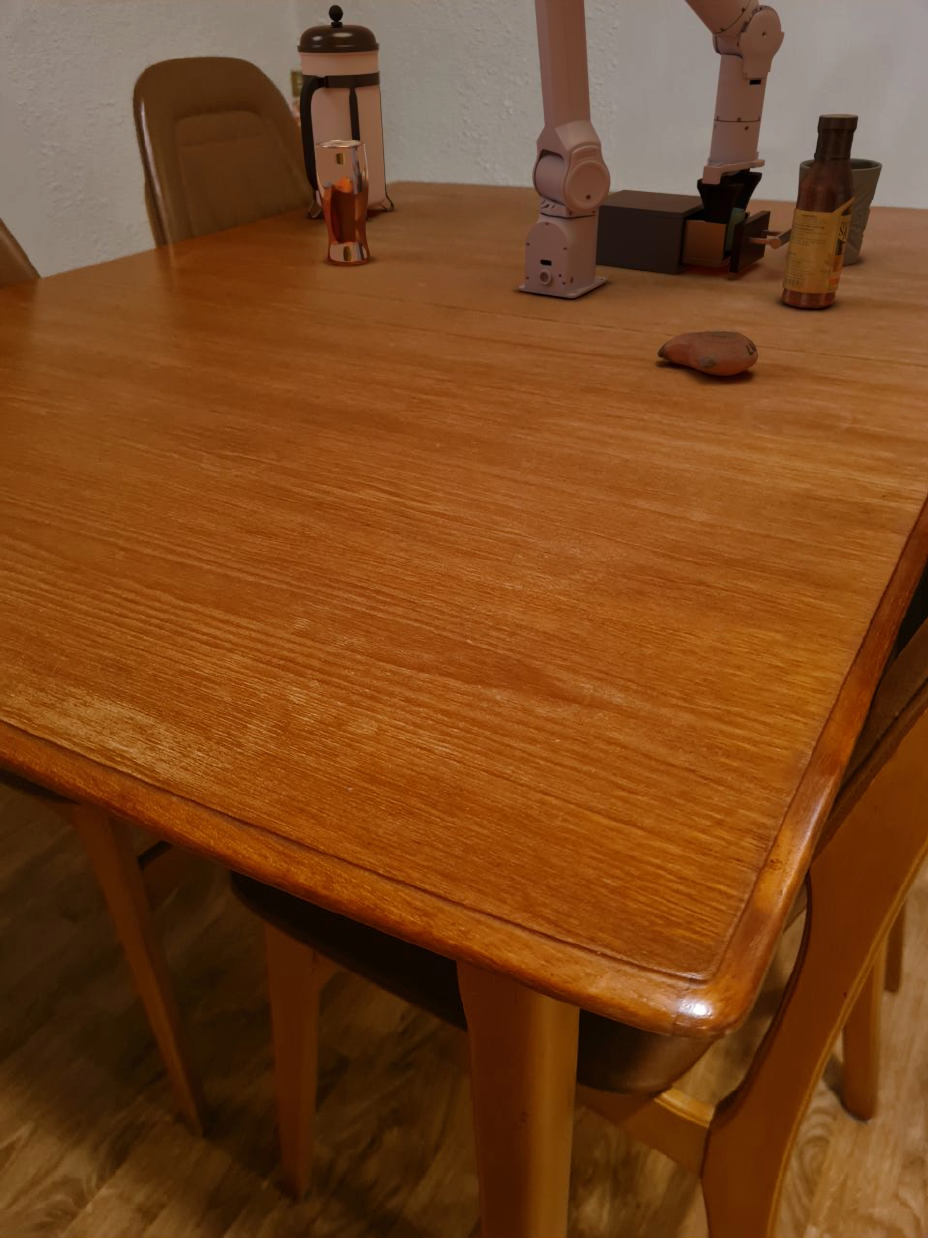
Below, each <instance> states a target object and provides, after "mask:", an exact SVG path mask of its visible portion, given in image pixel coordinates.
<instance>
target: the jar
mask: <svg viewBox="0 0 928 1238" xmlns="http://www.w3.org/2000/svg"><path fill="white" fill-rule="evenodd" d="M745 212H746V211H745V210H744V209H740V208H735V207H733V210H732V214H731V218H730V222H729V226H728V230H727V238H726V246H725V251H728V250H731V249H732V242H733V234H734V227H735V224H737V223H739V222H741V221H743V220H744V219H745Z"/></svg>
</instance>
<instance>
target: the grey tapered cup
mask: <svg viewBox="0 0 928 1238" xmlns="http://www.w3.org/2000/svg"><path fill="white" fill-rule="evenodd" d="M813 162H814V158H813V159H807V160H804V161H801V162H800V164H799V170H798V187H797V189H798V188H799V184H800V182H801V180H802V178H803V176H804V175H805V173H806V172H807V171H808V169H809V168H810V167H811V165H812V164H813ZM850 162H851V169H852V177H853V184H854V191H855V198H854V204H853V209H852V214H851V221H850V226H849V232H848V237H847V242H846V248H845V252H844V258H843V263H842V266H849V265H853V264H854V263H855V264H856V262H858V260H859V258H860V254H861V250H862V246H863V238H864V235H865V234H864V232H865V231H866V228H867V225H868V220H869V218H870V214H871V208H870V206H871V205H872V202H873V200H874V198H875V194H876V191H877V187H878V183H879V180H880V175H881V172H882V169H883V164H882V163H881V162H879V161H876V160H873V159H866V158H858V157H850Z"/></svg>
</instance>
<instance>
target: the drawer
mask: <svg viewBox="0 0 928 1238" xmlns="http://www.w3.org/2000/svg"><path fill="white" fill-rule="evenodd" d="M771 212H772V211H771V210H765V209H763V210H760V211H758V212H756V213H755V214H753V215H751V212H750V211H745V219H744V220H743V221H741V222H739V223H737V224H735V227H734V234H733V242H732V249H731V250H728V251H725V246H726V238H727V230H728V223H721V222H711V221H705V213H704V209H702V210H700V211H698V212H696V213H694V214H691V215H689V216H687V217H685V218H683V229H682V238H681V248H680V257H679V263H687V264H693V265H696V266H704V267H710V268H720V269H721V268H722V267H724V266H726V265H729V266H728V273H729V274H739V273H741V272H742V271H743V270H745V269H747V268H749V267H750V266H752V265H753V264H755V263H757V262H759V261H760V260H761V259H763V258H764V257H765V254H766V245H767V246H770V248H771V249H773V250H778V249H780V248H782V246H785V245H786V244H787V243H789V241H790V234H791V228H788V229H785V230H784V231H783V230H772V229H769V226H770V219H771ZM768 237H772V238H768Z"/></svg>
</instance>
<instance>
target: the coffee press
mask: <svg viewBox="0 0 928 1238" xmlns="http://www.w3.org/2000/svg"><path fill="white" fill-rule="evenodd" d="M344 13H345V12H343V9H342V7H341V6H340V5H338V4H333V5H331V6H330V7H329V9H328V13H327V14H328V17H329V18H330V20H331V22H330V24H325V25H315V26H312V27H308V28H307V29H306V30H304V31H303V33H301V35H300V38H299V44H298V45H296V49H297V52H298V55H300V57H299V58H300V65H301V72H300V79H301V80H300V81H301V89H300V94H299V122H300V123H299V124H300V133H301V143H302V151H303V161H304V168H305V173H306V178H307V180H308V183H309V185H310V187H311V190H312V201H311V203H310V205H309V207H308V209H307V215H308V216H309V217H310V218H311V219H316V218H317V219H318V217H319V216H320V214H321V213H323V209H322V205H321V201H320V196H319V191H318V185H317V176H316V147H315V144H316V143H318V142H322V141H330V140H359V141H363V142H364V143H365V152H366V159H367V167H368V180H369V192H368V206H367V210H371V209H375V208H378V207H380V206H381V208H383V209H384V210H385V211H387V212H392V211H393V210H394V208H395V204H394V203H393V201H392V200H391V199H390V197H389V195H388V193H387V181H386V179H387V178H386V164H385V163H386V162H385V148H384V147H385V146H384V145H385V144H384V128H383V112H382V111H383V109H382V96H381V87H380V84H382V83H381V82H382V81H381V71H380V70H379V56H378V55H379V52H380V43H379V42H377V38H376V36H375V33H374V32H373V31H372V30H371V29H370V28H368V27H366V26H364V25H359V24H344V23H343V22H342V21H341V20H342V19H343V16H344ZM386 199H387V200H388V202H389V203H390V207H389V208H386V207H385V206H384V202H385V200H386ZM315 204H316V205H317V206H318V207H320V208H319V209H318V210H317V211H316V213H315V214H314V215H311V212H312V210H313V208H314V206H315ZM368 215H369V214H367V217H366V222H367V221H369V217H368Z"/></svg>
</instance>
